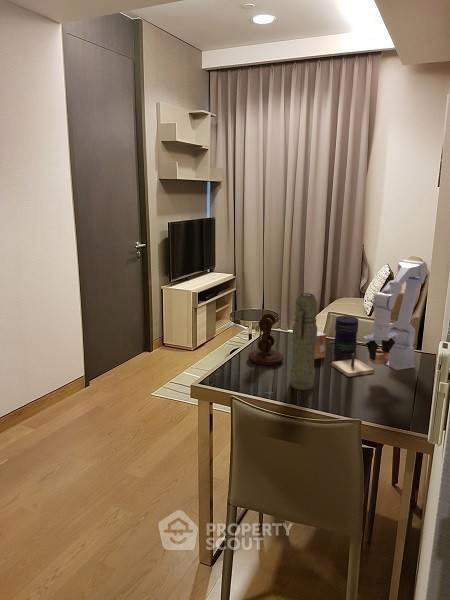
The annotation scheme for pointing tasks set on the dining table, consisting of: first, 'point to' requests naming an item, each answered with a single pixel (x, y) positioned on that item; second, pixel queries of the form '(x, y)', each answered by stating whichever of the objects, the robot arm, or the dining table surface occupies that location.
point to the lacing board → (352, 367)
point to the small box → (320, 345)
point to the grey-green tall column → (304, 342)
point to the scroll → (266, 344)
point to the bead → (380, 357)
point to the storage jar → (346, 335)
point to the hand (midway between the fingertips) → (378, 358)
